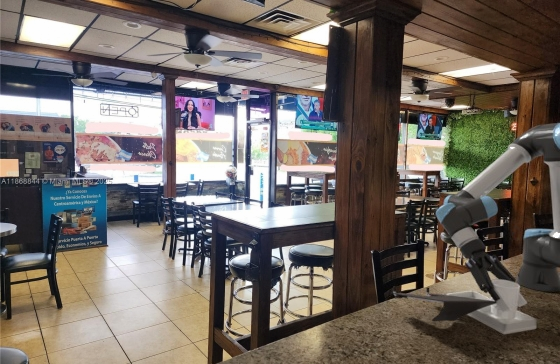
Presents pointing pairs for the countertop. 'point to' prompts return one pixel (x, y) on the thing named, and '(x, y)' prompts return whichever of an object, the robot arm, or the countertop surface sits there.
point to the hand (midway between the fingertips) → (515, 307)
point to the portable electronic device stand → (450, 304)
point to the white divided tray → (497, 323)
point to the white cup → (506, 298)
